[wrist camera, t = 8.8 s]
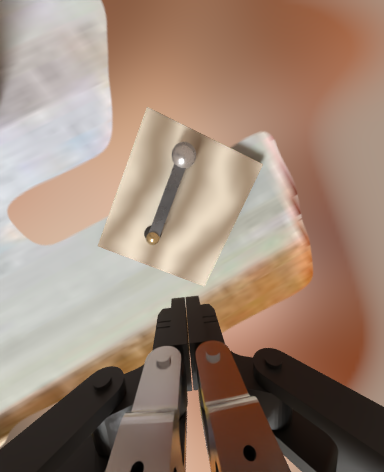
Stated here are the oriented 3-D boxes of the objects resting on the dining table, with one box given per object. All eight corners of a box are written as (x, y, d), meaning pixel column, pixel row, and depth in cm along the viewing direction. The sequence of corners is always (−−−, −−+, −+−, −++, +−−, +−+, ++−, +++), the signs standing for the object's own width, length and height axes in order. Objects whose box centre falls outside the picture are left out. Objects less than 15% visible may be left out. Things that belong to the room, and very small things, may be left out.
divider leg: (177, 141, 28) (176, 137, 26) (198, 151, 29) (200, 147, 26) (142, 236, 31) (139, 240, 28) (162, 244, 31) (161, 248, 29)
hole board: (101, 243, 32) (97, 246, 31) (148, 111, 29) (147, 106, 27) (203, 282, 35) (204, 286, 34) (259, 165, 31) (263, 164, 30)
